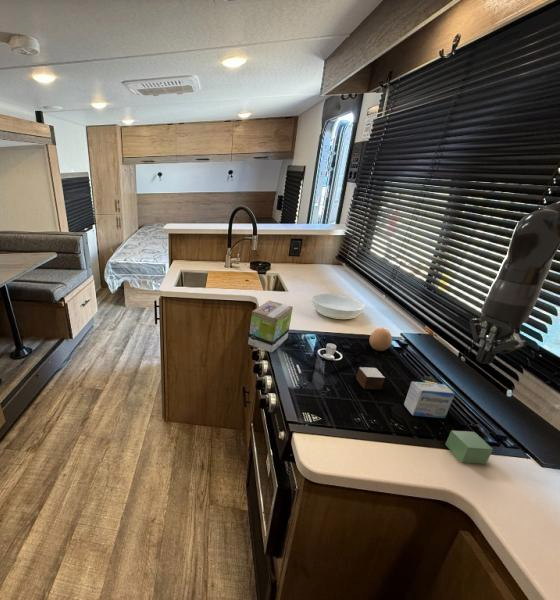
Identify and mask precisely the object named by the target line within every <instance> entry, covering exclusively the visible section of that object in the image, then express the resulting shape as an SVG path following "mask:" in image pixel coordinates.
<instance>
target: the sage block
mask: <svg viewBox="0 0 560 600" xmlns="http://www.w3.org/2000/svg"><path fill="white" fill-rule="evenodd" d="M444 445H445V446H446V448H448V449H449V451H450V452H451V453H452V454H453V455H454V456H455V457H456V458H457V459H458V461H460V462H461V463H468V464H481V465H486V464H487V462H488V461H489V459H490V458H491V455H492V452H493V451H494V448H493V447H491V446H490V445H489V444H488V443H487V442H486V441H485V440H484V439H483V438H482V437H481V436H479V435H478V433H476V432H475V431H468V430H467V431H464V430H450V433H449V434H448V437H447V440H446V441H445V444H444Z"/></svg>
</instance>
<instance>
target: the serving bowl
mask: <svg viewBox="0 0 560 600" xmlns="http://www.w3.org/2000/svg"><path fill="white" fill-rule="evenodd" d="M311 303H312V306H313V308H314V310H315V311H316V312H317V313H318V314H321V315H322V316H325V317H327V318H331V319H337V320H351V319H355V318H357V317H358V316H360V315H361V314H362V313H363V311H364V309H365V304H364V303H363V302H362V301H360V300H358V299H357V298H354V297H351V296H348V295H343V294H338V293H318V294H315V295H313V296H312V301H311ZM326 305H328V306H326Z"/></svg>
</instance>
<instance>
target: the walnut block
mask: <svg viewBox="0 0 560 600" xmlns="http://www.w3.org/2000/svg"><path fill="white" fill-rule="evenodd" d="M385 379H386V377H385V376H384V375H383V373H381V371H379V369H378V368H377V367H364V366H363V367H362V366H359V367H358V369H357V373H356V377H355V380H356V381H357V382H358V383H359V385H360V386H361V388H362V389H363V390H379V391H381V390H382V388H383V387H384V382H385Z"/></svg>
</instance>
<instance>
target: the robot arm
mask: <svg viewBox="0 0 560 600" xmlns="http://www.w3.org/2000/svg"><path fill="white" fill-rule="evenodd" d="M559 248H560V200H559V201H556V202H553V203H551V204H548V205H545V206H544V207H540V208H538V209H535V210H533V211H531V212H529V213H528V214H526V215H525V216H523V217H521V219H520V220H519V221H518V222H517V224H516V226H515V228H514V230H513V233H512V236H511V239H510V242H509V246H508V248H507V249H508V250H507V254H506V256H505V257H504V259H503V261H502V263H501V265H500V268H499V270H498V273H497V275H496V277H495V279H494V281H492V283H491V286H490V287H489V290H488V293H487V295H486V297H485V300H484V303H483V305H482V308H481V310H480V312H481V315H480V317H479V318H470V319H469V325H470V330H471V336H472V338H473V341H474V343H478V347H479V348H478V350H477V352H476V356H475V361H476V362H478V363H480V365H490V364H492V363H493V362H494V359H495V357H496V355H497V354H509V353H511V352H513V351H516V350H518V349H519V350H520V349H521V348H524V347H527V346H528V342H527V340H522V338H521V337H520V333H521V332H522V331H521V327H522V325H523V324H525V323H526V322H527V321H528V320H529V318H530V316H531V314H532V311H533V309H534V308H535V306H536V303H537V302H538V299H539V298H540V295H541V292H542V288H543V284H544V282H545V281H546V279H547V276H548V274H549V272H550V269H551V266H552V264H553V259H554V257H555V255H556V254H557V252H558V250H559Z"/></svg>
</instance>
